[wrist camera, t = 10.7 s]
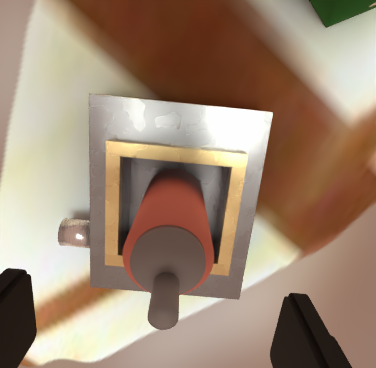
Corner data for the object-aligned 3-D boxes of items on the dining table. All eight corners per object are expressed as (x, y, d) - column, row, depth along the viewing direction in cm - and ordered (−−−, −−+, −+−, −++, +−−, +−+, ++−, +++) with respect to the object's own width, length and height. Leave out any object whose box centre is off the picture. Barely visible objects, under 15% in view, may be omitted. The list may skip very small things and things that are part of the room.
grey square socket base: (69, 90, 23) (38, 88, 18) (259, 110, 23) (277, 113, 19) (74, 258, 28) (50, 291, 23) (232, 272, 28) (241, 307, 23)
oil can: (147, 166, 24) (107, 241, 11) (205, 170, 24) (228, 250, 12) (145, 219, 25) (107, 336, 13) (199, 223, 26) (213, 342, 13)
